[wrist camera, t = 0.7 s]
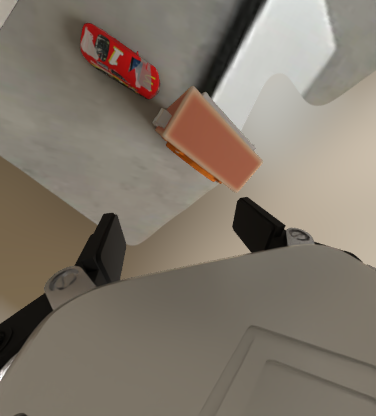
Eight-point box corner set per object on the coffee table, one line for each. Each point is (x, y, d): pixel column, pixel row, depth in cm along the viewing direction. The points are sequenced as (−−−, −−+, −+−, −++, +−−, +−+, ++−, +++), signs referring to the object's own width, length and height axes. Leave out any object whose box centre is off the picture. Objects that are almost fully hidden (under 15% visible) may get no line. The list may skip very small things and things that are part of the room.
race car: (163, 76, 29) (165, 70, 25) (153, 105, 31) (154, 103, 27) (89, 20, 23) (79, 3, 20) (82, 59, 25) (72, 49, 22)
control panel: (197, 166, 39) (148, 129, 32) (213, 144, 37) (164, 99, 30) (239, 201, 21) (147, 134, 14) (274, 161, 19) (188, 60, 12)
